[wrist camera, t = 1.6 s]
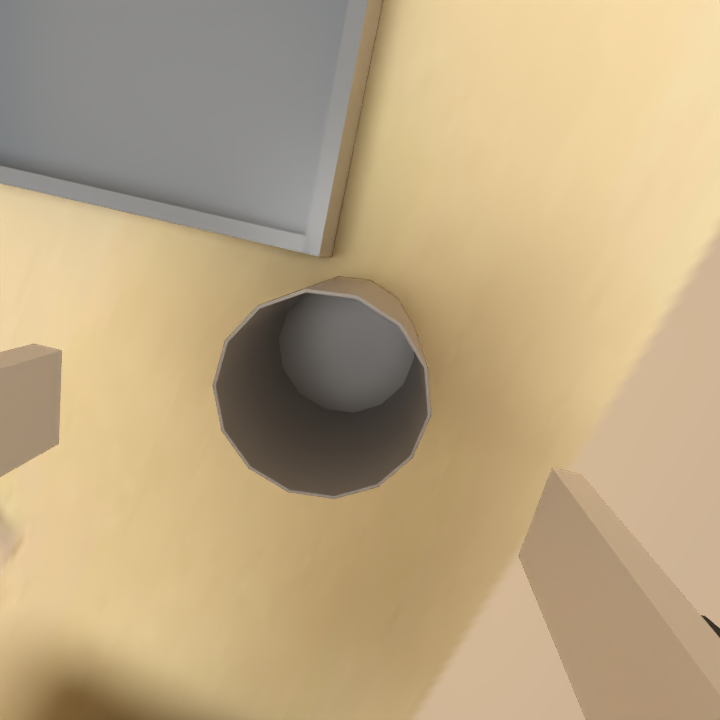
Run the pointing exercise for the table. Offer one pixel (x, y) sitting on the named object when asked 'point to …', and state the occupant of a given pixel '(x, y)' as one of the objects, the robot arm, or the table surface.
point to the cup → (325, 388)
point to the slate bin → (189, 109)
